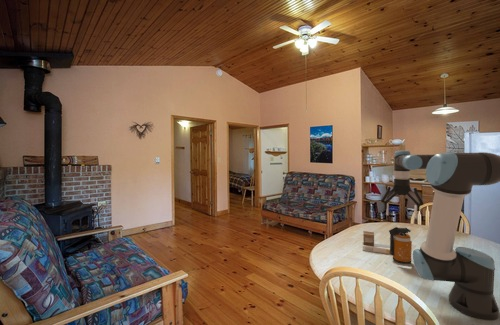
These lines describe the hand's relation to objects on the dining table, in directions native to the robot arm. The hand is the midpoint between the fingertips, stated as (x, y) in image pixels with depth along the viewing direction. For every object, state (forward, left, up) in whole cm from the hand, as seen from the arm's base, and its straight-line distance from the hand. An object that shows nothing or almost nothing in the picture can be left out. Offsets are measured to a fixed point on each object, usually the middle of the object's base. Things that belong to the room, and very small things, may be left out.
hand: (401, 216), depth 138 cm
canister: (0, 0, -27) cm, 27 cm away
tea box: (+14, +16, -25) cm, 33 cm away
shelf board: (+14, +7, -27) cm, 31 cm away
